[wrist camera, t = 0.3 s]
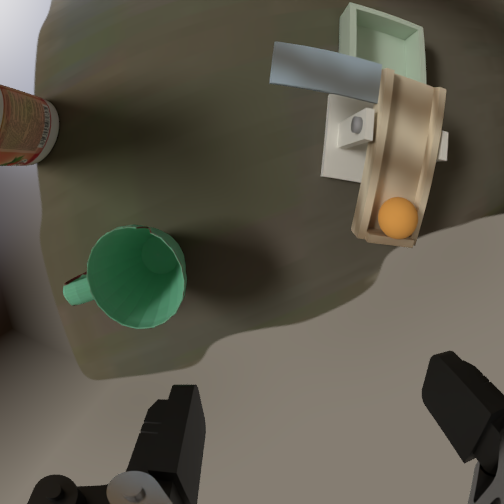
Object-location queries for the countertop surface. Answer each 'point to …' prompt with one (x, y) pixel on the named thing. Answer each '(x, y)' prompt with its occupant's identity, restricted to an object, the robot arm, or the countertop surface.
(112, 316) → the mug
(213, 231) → the countertop surface
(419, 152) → the lever
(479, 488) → the robot arm
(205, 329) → the countertop surface
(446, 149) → the stand
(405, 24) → the pale green tray
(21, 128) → the fruit juice
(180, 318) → the countertop surface
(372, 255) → the countertop surface
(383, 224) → the ball
